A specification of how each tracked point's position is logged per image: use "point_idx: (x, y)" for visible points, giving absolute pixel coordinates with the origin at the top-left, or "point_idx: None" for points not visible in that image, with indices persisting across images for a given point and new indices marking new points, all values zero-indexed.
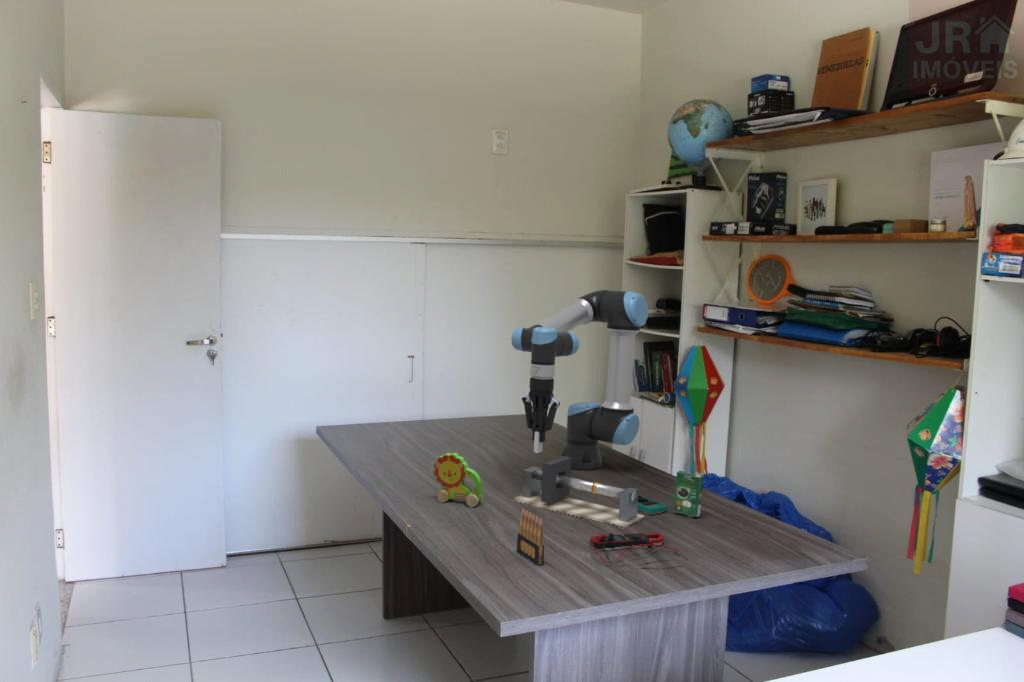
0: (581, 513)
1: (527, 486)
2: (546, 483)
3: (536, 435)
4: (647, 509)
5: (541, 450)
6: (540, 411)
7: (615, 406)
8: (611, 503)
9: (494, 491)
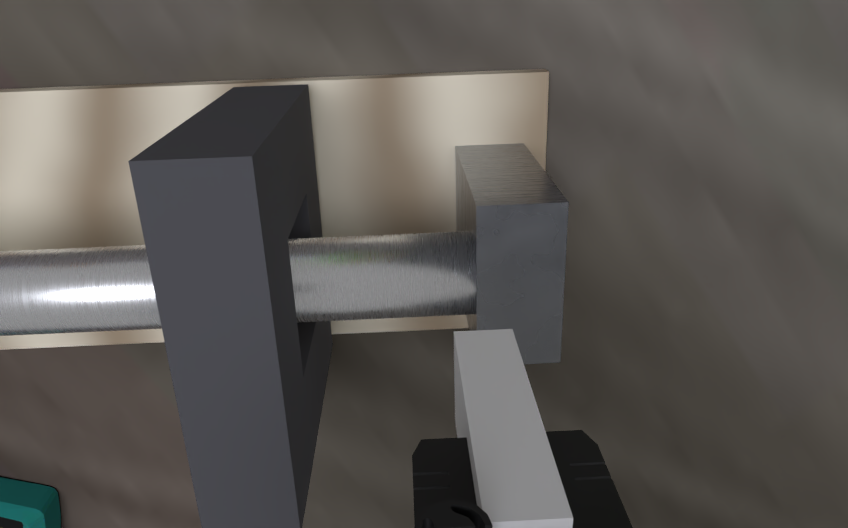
0: None
1: (491, 165)
2: (235, 111)
3: (520, 476)
4: None
5: (455, 412)
6: None
7: None
8: (76, 451)
9: (766, 153)
